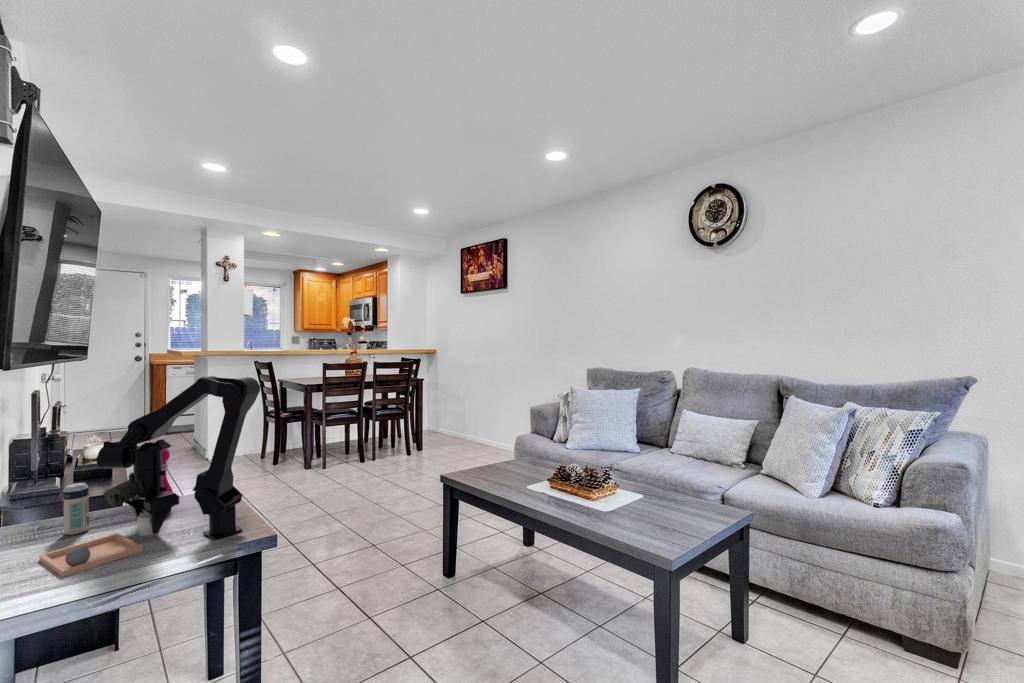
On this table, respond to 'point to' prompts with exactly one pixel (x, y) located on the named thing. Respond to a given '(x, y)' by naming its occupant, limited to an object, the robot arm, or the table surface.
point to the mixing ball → (77, 556)
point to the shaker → (144, 524)
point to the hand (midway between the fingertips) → (149, 530)
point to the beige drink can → (76, 508)
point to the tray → (92, 554)
